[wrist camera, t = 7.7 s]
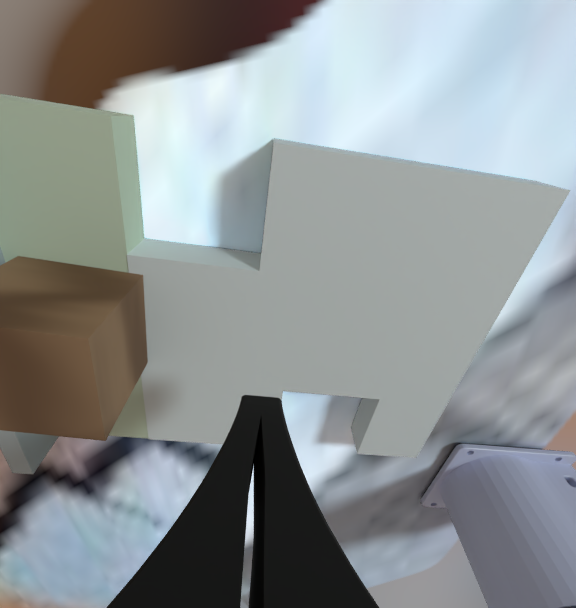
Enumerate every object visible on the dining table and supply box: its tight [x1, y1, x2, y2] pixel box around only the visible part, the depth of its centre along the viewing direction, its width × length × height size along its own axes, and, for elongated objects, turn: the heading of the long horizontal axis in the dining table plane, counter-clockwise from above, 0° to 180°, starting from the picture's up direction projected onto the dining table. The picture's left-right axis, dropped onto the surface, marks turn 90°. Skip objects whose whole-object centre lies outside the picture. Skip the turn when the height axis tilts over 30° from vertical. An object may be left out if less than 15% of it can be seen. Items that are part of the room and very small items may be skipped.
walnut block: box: [0, 256, 148, 441], centre depth 13 cm, size 5×5×4 cm
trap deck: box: [0, 94, 570, 474], centre depth 15 cm, size 23×17×4 cm
